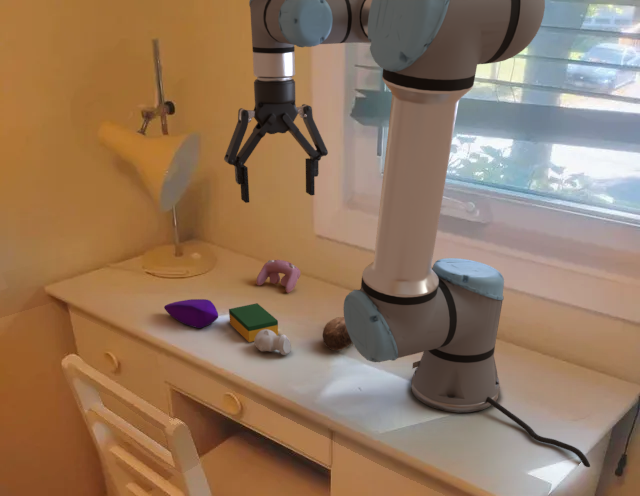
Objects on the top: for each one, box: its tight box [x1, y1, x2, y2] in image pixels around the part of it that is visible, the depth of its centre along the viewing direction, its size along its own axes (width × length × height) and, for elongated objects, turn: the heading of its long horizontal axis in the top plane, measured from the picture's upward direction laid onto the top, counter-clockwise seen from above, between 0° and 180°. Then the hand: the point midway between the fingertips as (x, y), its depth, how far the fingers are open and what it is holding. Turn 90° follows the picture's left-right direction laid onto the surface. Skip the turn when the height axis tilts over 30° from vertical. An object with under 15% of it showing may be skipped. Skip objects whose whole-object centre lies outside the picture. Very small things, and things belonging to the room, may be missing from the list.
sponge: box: [228, 302, 279, 343], centre depth 146 cm, size 10×6×3 cm, turn 29°
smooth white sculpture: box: [254, 329, 292, 356], centre depth 138 cm, size 4×8×5 cm
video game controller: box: [255, 259, 301, 294], centre depth 166 cm, size 10×5×7 cm, turn 58°
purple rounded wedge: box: [163, 298, 219, 329], centre depth 149 cm, size 5×5×15 cm
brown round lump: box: [322, 316, 353, 352], centre depth 140 cm, size 8×8×6 cm
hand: (278, 197), depth 140 cm, fingers open, 13 cm apart
